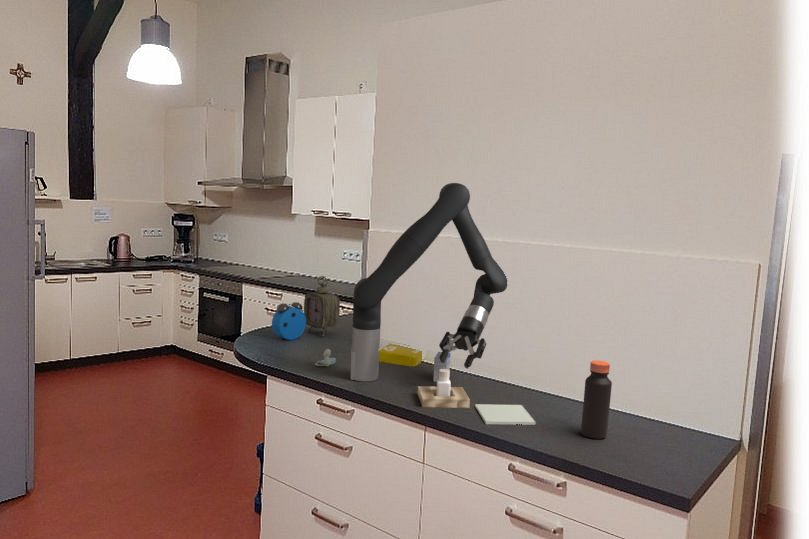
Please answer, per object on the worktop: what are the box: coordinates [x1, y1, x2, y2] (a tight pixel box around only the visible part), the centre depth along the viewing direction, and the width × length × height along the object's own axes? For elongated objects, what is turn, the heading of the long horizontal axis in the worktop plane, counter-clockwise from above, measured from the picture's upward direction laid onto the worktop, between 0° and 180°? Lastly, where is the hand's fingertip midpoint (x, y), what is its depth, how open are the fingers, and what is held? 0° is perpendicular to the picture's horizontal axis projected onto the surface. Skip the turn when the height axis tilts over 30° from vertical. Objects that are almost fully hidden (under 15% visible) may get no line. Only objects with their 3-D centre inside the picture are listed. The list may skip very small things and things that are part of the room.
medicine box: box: [432, 351, 451, 383], centre depth 215 cm, size 8×4×9 cm, turn 168°
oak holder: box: [417, 385, 471, 409], centre depth 194 cm, size 14×12×2 cm
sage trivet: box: [475, 403, 537, 426], centre depth 184 cm, size 14×14×1 cm
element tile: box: [379, 343, 423, 367], centre depth 239 cm, size 15×15×5 cm
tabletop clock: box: [303, 275, 341, 338], centre depth 271 cm, size 14×9×25 cm, turn 43°
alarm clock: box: [271, 301, 307, 341], centre depth 260 cm, size 13×6×15 cm, turn 133°
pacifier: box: [314, 348, 337, 367], centre depth 226 cm, size 7×6×6 cm
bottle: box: [580, 360, 613, 440], centre depth 171 cm, size 7×7×20 cm
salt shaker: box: [436, 369, 452, 396], centre depth 193 cm, size 4×4×10 cm
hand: (453, 364), depth 197 cm, fingers open, 8 cm apart
